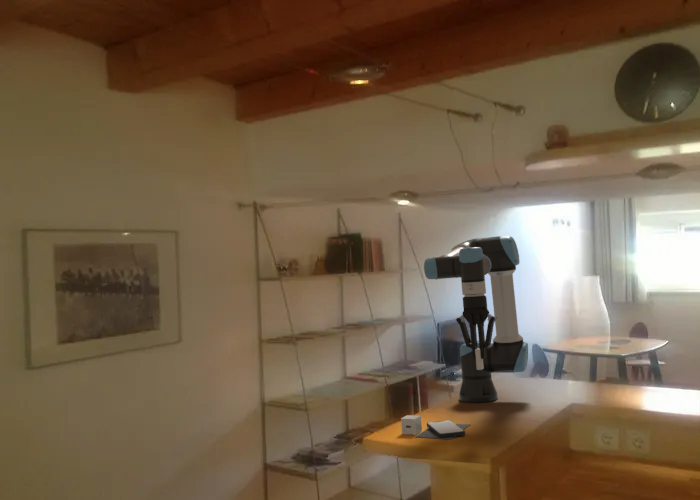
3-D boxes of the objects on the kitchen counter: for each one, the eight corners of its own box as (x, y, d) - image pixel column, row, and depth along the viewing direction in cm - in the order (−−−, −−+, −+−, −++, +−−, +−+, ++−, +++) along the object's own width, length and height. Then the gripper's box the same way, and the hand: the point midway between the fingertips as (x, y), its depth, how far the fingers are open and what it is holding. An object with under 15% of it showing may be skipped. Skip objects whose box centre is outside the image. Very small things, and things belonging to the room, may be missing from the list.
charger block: (408, 430, 213) (406, 415, 213) (421, 431, 211) (420, 415, 211) (401, 434, 209) (400, 418, 209) (416, 434, 206) (414, 419, 206)
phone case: (466, 436, 200) (450, 424, 216) (466, 431, 200) (450, 419, 216) (439, 439, 199) (425, 427, 215) (439, 434, 199) (425, 422, 215)
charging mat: (436, 423, 220) (436, 422, 220) (470, 424, 214) (469, 424, 214) (415, 437, 203) (415, 436, 203) (451, 439, 198) (451, 438, 198)
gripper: (451, 297, 204) (456, 370, 203) (490, 295, 198) (497, 371, 197) (458, 295, 211) (464, 367, 210) (497, 293, 204) (503, 367, 203)
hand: (480, 369), depth 203 cm, fingers closed
